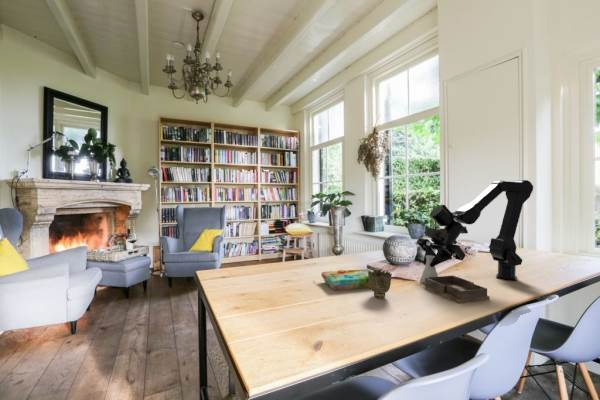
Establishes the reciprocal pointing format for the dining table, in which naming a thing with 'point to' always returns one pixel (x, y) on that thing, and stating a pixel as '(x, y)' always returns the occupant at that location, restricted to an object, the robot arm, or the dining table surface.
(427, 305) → the dining table surface
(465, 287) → the walnut dock
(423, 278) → the flask
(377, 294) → the cup
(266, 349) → the dining table surface
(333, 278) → the puzzle game
